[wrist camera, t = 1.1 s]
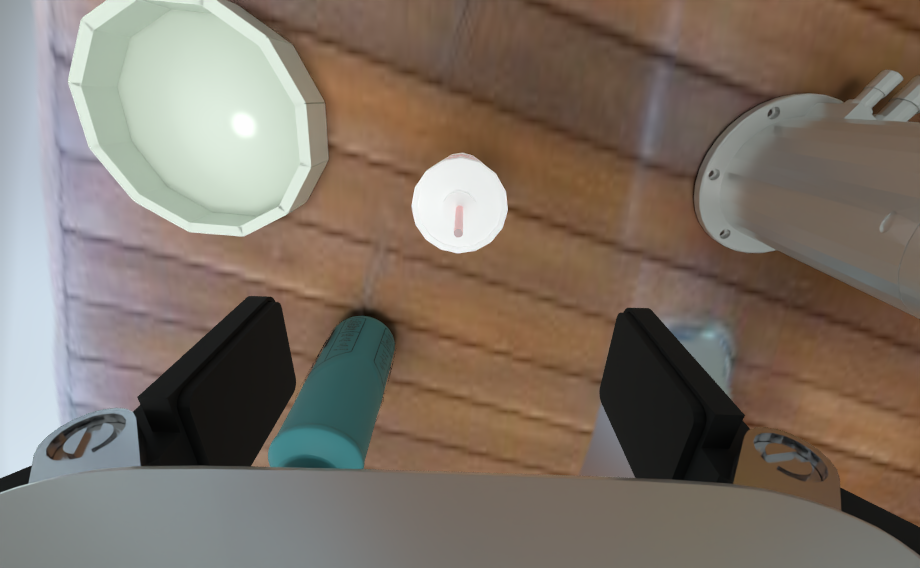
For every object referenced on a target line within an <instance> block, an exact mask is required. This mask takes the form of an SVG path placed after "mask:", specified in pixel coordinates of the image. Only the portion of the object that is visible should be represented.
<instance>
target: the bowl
mask: <svg viewBox="0 0 920 568" xmlns="http://www.w3.org/2000/svg"><path fill="white" fill-rule="evenodd" d="M82 19H83V20H82ZM82 19H81V22H80V27H79V31H78V36H77V41H76V45H75V50H74V55H73V59H72V64H71V69H70V73H69V78H68V81H69V82H68V84H69V87H70V90H71V93H72V96H73V99H74V102H75V105H76V109H77V112H78V115H79V118H80V121H81V124H82V127H83V130H84V134H85V137H86V140H87V143H88V146H89V147H91V148H90V150H91V151H92V152H93V153H94V154H95V156H96V157H97V158H98V159H99V160H100V162H101V163H102V164H103V165H104V166H105V168H106V169H107V170H108V171H109V172H110V173H111V175H112V176H113V177H114V178H115V179H116V181H117V182H118V183H119V184H120V185H121V187H122V188H123V189H124V190H125V191H126V193H127V194H128V195H129V196H130V197H131V199H132V200H133V201H134V200H135V201H134V202H136V203H138V204H140V205H141V206H143V207H145V208H147V209H149V210H150V211H152V212H154V213H156V214H158V215H159V216H161V217H163V218H165V219H167V220H168V221H170V222H172V223H174V224H176V225H177V226H179V227H181V228H183V229H185V230H186V231H188V232H195V233H207V234H219V235H231V236H246V235H248V234H250V233H252V232H254V231H255V230H257V229H259V228H261V227H263V226H265V225H267V224H269V223H271V222H273V221H275V220H277V219H279V218H281V217H283V216H285V215H287V214H289V213H290V212H292V211H293V210H295V209H296V208H298V207H299V206H301V205H303V204H304V203H306V202H307V200H308V198H309V197H310V195H311V193H312V191H313V189H314V187H315V185H316V183H317V181H318V179H319V177H320V176H321V174H322V172H323V170H324V168H325V166H326V164H327V162H328V159H329V156H328V140H327V124H326V108H325V103H324V100H323V98H322V96H321V94H320V93H319V91H318V89H317V87H316V86H315V84H314V82H313V80H312V78H311V77H310V75H309V73H308V71H307V70H306V68H305V66H304V64H303V62H302V61H301V59H300V57H299V55H298V53H297V52H296V50H295V48H294V46H293V45H292V44H291V43H290V42H288V41H287V40H285V39H284V38H283V37H281V36H280V35H279V34H277V33H276V32H274V31H273V30H272V29H270V28H269V27H267V26H266V25H265V24H263V23H262V22H261V21H259V20H258V19H256V18H255V17H254V16H252V15H251V14H249V13H248V12H247V11H245V10H244V9H243V8H241V7H240V6H238V5H237V4H234V3H232V2H230V1H227V0H106V1H105V2H104V3H102V4H101V5H99V6H98V7H97V8H95V9H94V10H92V11H91V12H90V13H88V14H87V15H86V16H84V17H83V18H82Z"/></svg>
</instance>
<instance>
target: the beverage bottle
mask: <svg viewBox="0 0 920 568" xmlns="http://www.w3.org/2000/svg"><path fill="white" fill-rule="evenodd" d="M329 336H330V334H329ZM326 341H327V343H326V342H325V343H326V344H324V345H325V346H324V345H323V347H324V349H323V351H322V352H321V351H320V352H321V354H320V352H319V354H320V356H319V354H318V356H319V358H318V359H317V358H316V359H317V361H316V363H315V364H314V363H313V364H314V366H313V365H312V367H311V369H312V368H313V369H312V371H311V372H309V373H308V375H309V376H308V378H307V380H306V382H305V383H303V384H304V385H303V387H302V389H301V391H300V393H299V395H298V397H297V396H296V397H297V399H296V400H295V403H294V405H293V407H292V408H291V410H290V412H289V414H288V416H287V418H286V420H285V421H284V423H283V425H282V427H281V429H280V431H279V433H278V434H277V436H276V437H275V438H274V440H273V441H272V443H271V445H270V448H269V452H268V461H269V464H270V467H293V468H336V469H364V461H365V458H366V454H367V450H368V447H369V443H370V439H371V436H372V432H373V429H374V425H375V421H377V420H376V418H377V414H378V411H379V408H380V405H381V402H382V398H384V397H383V393H385V392H384V389H385V385H386V382H387V378H388V374H389V370H390V369H392V368H391V367H390V366H391V362H392V361H393V360H392V358H393V354H394V350H395V345H396V344H395V342H394V341H395V340H394V338H393V336H392V333H391V332H390V330H389V329H388V328H387V326H386V325H384V324H383V323H382V322H380V321H379V320H377V319H374V318H372V317H367V316H354V317H350V318H348V319H346V320H343V322H342V321H341V323H340V324H339V325H337V326H336V328H335V329H334V330H333V332H332V334H331V336H330V337H329V339H328V340H326ZM323 347H322V348H323ZM321 350H322V349H321ZM394 355H395V354H394ZM318 356H317V357H318ZM316 359H315V360H316ZM314 362H315V361H314ZM392 365H393V364H392ZM311 369H310V370H311ZM390 371H391V370H390ZM390 373H391V372H390ZM306 376H307V375H306ZM389 377H390V376H389ZM305 378H306V377H305ZM388 381H389V380H388ZM297 394H298V393H297ZM381 409H382V408H381ZM378 417H379V416H378ZM377 419H378V418H377Z"/></svg>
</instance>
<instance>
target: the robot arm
mask: <svg viewBox="0 0 920 568" xmlns="http://www.w3.org/2000/svg"><path fill="white" fill-rule="evenodd" d="M902 80H903V77H902V76H901V75H900V74H899V73H898V72H895V71H892V70H883V71H881V72H880V73H879V74H878V75H877V76H876V77H875V78H874V79H873V80H872V81H871V82H870V83H869V84H868V85H867V86H866V87H865V88H864V90H863V91H862V92H861V93H860V94H859V95H858V96H857V97H856V98H855V99H854V100H853V99H850V100H847V101H846V102H845V103H844V102H842V101H841V100H839V99H836V98H833V97H831V96H828V95H822V94H811V93H808V94H791V95H787V96H782V97H777V98H774V99H772V100H769V101H767V102H764V103H762V104H760V105H758V106H756V107H755V108H753V109H751V110H749V111H748V112H746V113H744V114H743V115H742V116H741V117H739V118H738V119H737V120H736V121H734V122H733V123H732V124H731V125H729V126H728V128H727V129H726V130H725V131H724V132H723V133H722V134H721V135H720V136H719V137H718V138H717V140H716V141H715V142H714V144H713V145H712V147H711V148H710V150H709V151H708V153H707V154H706V156H705V158H704V161H703V163H702V165H701V167H700V169H699V172H698V176H697V179H696V182H695V191H694V204H695V212H696V215H697V218H698V221H699V223H700V224H701V226H702V227H703V229H704V231H705V232H706V233H707V234H708V235H709V236H710V237H711V238H712V239H713V240H715V241H717V242H718V243H720V244H722V245H723V246H725V247H728V248H730V249H732V250H735V251H740V252H745V253H765V252H771V251H777V250H778V251H780V252H782V253H784V254H786V255H788V256H790V257H792V258H794V259H796V260H798V261H801V262H803V263H805V264H807V265H809V266H811V267H813V268H815V269H817V270H819V271H821V272H823V273H825V274H827V275H830V276H832V277H834V278H836V279H838V280H840V281H842V282H844V283H846V284H848V285H850V286H852V287H854V288H856V289H858V290H861V291H863V292H865V293H867V294H869V295H871V296H873V297H875V298H877V299H879V300H881V301H883V302H885V303H887V304H890V305H892V306H894V307H896V308H898V309H900V310H902V311H904V312H906V313H908V314H910V315H912V316H914V317H916V318H919V319H920V122H907V121H908V120H909V119H910V118H912V117H913V116H914V115H915V114H918V113H920V75H918V76H915V77H914V78H913V79H912V80H911V81H909V82H908V83H907V84H906V85H905V86H904V87H903V88H902V89H901V90H900V91H899V92H898V93H897V94H895V95H894V96H893V97H892V98H891V99H890V100H889V101H888V102H889V103H888V104H887V105H886V106H884V107H883V108H882V109H881V110H880V111H879V112H878V113H877V114H872V113H873V111H872V108H873V107H874V106H875V105H876V104H877V103H878V102H879V101H880V100H881V99H883V98H885V97H886V96H887V95H888V94H889V93H890V92H891V91H892V90H893V89H894V88H895V87H896V86H897V85H898V84H900V83H901V82H902ZM710 172H711V173H710ZM709 173H710V174H709ZM295 386H296V378H295V373H294V368H293V362H292V357H291V352H290V347H289V342H288V337H287V332H286V327H285V322H284V317H283V312H282V307H281V305H280V303H279V302H275V300H274V299H273V298H272V297H260V296H249V297H247V298H246V299H245V300H244V301H243V302H241V303H240V304H239V305H238V306H237V307H236V308H235V309H234V310H233V311H232V312H230V313H229V314H228V315H227V316H226V317H225V318H224V319H223V320H222V321H221V322H219V323H218V324H217V325H216V326H215V327H214V328H213V329H212V330H211V331H210V332H209V333H207V334H206V335H205V336H204V337H203V338H202V339H201V340H200V341H199V342H198V343H196V344H195V345H194V346H193V347H192V348H191V349H190V350H189V351H188V352H187V353H185V354H184V355H183V356H182V357H181V358H180V359H179V360H178V361H177V362H176V363H174V364H173V365H172V366H171V367H170V368H169V369H168V370H167V371H166V372H165V373H163V374H162V375H161V376H160V377H159V378H158V379H157V380H156V381H155V382H154V383H152V384H151V385H150V386H149V387H148V388H147V389H146V390H145V391H144V392H143V393H142V394H140V395H139V396H138V397H137V398H138V400H139V402H140V404H141V405H140V406H139V407H138V408H137V409H136V410H135V411H134V412H132V411H130V410H128V409H123V408H110V409H103V410H99V411H95V412H92V413H88V414H86V415H83V416H81V417H79V418H76V419H74V420H72V421H70V422H68V423H66V424H65V425H63V426H61V427H59V428H58V429H57V430H55V431H54V432H53V433H51V434H50V435H48V436H47V437H46V438H45V439H44V440H43V441H42V443H41V444H40V445H39V446H38V448H37V450H36V452H35V454H34V457H33V463H32V466H29V467H27V468H25V469H22V470H20V471H17V472H15V473H12V474H10V475H8V476H5V477H3V478H0V568H920V527H918V526H916V525H914V524H912V523H910V522H908V521H906V520H904V519H902V518H900V517H898V516H896V515H894V514H892V513H890V512H888V511H886V510H884V509H882V508H880V507H878V506H876V505H874V504H872V503H870V502H868V501H866V500H864V499H862V498H860V497H858V496H856V495H854V494H852V493H850V492H848V491H846V490H844V489H842V488H840V478H839V475H838V472H837V469H836V468H835V466H834V465H833V464H832V462H831V461H830V460H829V459H828V458H827V457H826V456H825V455H824V454H823V453H822V452H821V451H819V450H818V449H817V448H815V447H814V446H812V445H811V444H809V443H808V442H806V441H805V440H803V439H801V438H799V437H796V436H794V435H792V434H790V433H787V432H784V431H781V430H778V429H774V428H768V427H755V428H753V429H749V427H748V426H747V425H746V424H745V423H744V422H743V421H742V420H743V418H744V416H745V415H744V414H743V413H742V412H741V410H740V409H739V408H738V407H737V406H736V405H735V404H734V403H733V401H732V400H731V399H730V398H729V397H728V396H727V395H726V394H725V392H724V391H723V390H722V389H721V388H720V387H719V386H718V385H717V383H715V381H714V380H713V379H712V378H711V377H710V376H709V374H708V373H707V372H706V371H705V370H704V369H703V368H702V367H701V365H700V364H699V363H698V362H697V361H696V360H695V359H694V358H693V357H692V355H691V354H690V353H689V352H688V351H687V350H686V349H685V347H684V346H683V345H682V344H681V343H680V342H679V341H678V340H677V338H676V337H675V336H674V335H673V334H672V333H671V332H670V331H669V329H668V328H667V327H666V326H665V325H664V324H663V323H662V322H661V320H660V319H659V318H658V317H657V316H656V315H655V314H654V313H653V311H652V310H650V309H649V308H627V309H625V311H624V313H619V314H618V316H617V319H616V323H615V328H614V332H613V336H612V340H611V344H610V348H609V353H608V357H607V361H606V365H605V369H604V373H603V378H602V382H601V386H600V400H601V403H602V405H603V407H604V409H605V412H606V414H607V416H608V418H609V420H610V423H611V425H612V427H613V429H614V431H615V433H616V436H617V438H618V440H619V442H620V445H621V447H622V449H623V451H624V454H625V456H626V458H627V460H628V462H629V465H630V467H631V469H632V471H633V473H634V476H635V478H624V477H598V476H569V475H540V474H512V473H480V472H447V471H412V470H376V469H336V468H293V467H251V465H252V463H253V462H254V460H255V458H256V456H257V455H258V453H259V451H260V450H261V448H262V446H263V444H264V443H265V441H266V439H267V438H268V436H269V434H270V432H271V431H272V429H273V427H274V426H275V424H276V422H277V420H278V419H279V417H280V415H281V414H282V412H283V410H284V408H285V407H286V405H287V403H288V401H289V400H290V398H291V396H292V395H293V393H294V390H295Z"/></svg>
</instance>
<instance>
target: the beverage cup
mask: <svg viewBox="0 0 920 568" xmlns="http://www.w3.org/2000/svg"><path fill="white" fill-rule="evenodd" d="M412 211H413V216H414V220H415V224H416V226H417V227H418V229H419V230H420V232H421V233H422V235H423V236H424V238H425V239H426V240H427V241H429V242H430V243H432V244H433V245H435V246H436V247H438V248H439V249H441V250H446V251H450V252H454V253H464V252H471V251H476V250H478V249H480V248H481V247H483V246H485V245H487V244H488V243H490V242H492V240H493V239H494V238H495V237H496V235H497V234H498V233H499V232H500V230H501V229H502V228H503V225H504V221H505V218H506V215H507V211H508V207H507V198H506V191H505V189H504V187H503V185H502V184H501V182H500V180H499V178H498V176H497V175H496V173H495V172H493V171H492V170H491V169H490V168H488V167H487V166H486V165H484V164H483V163H482V162H481V161H480V160H478V159H477V158H476V157H474V156H473V155H470V154H466V153H457V154H451V155H450V156H448V157H447V158H445V159H444V160H442V161H440V162H439V163H437V164H436V165H434V166H433V167H431V168H429V169H428V170H427V171H426V172H425V173H424V175H423V176H422V178H421V179H420V181H419V182H418V184H417V185H416V187H415V190H414V195H413V201H412Z"/></svg>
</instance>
